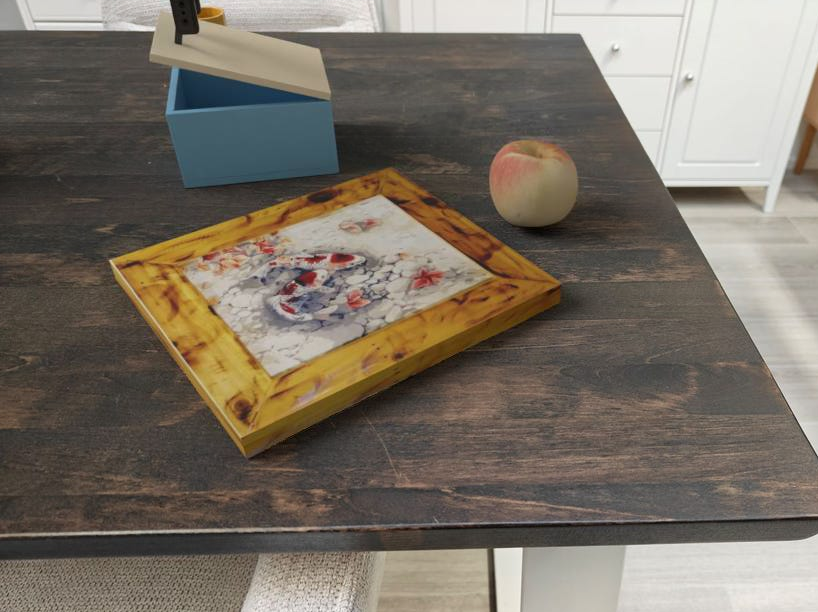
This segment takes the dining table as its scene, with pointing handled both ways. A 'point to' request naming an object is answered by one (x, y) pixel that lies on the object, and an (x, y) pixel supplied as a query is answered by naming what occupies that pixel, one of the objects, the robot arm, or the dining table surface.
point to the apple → (533, 183)
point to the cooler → (246, 131)
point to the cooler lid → (241, 57)
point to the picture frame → (326, 301)
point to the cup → (212, 15)
